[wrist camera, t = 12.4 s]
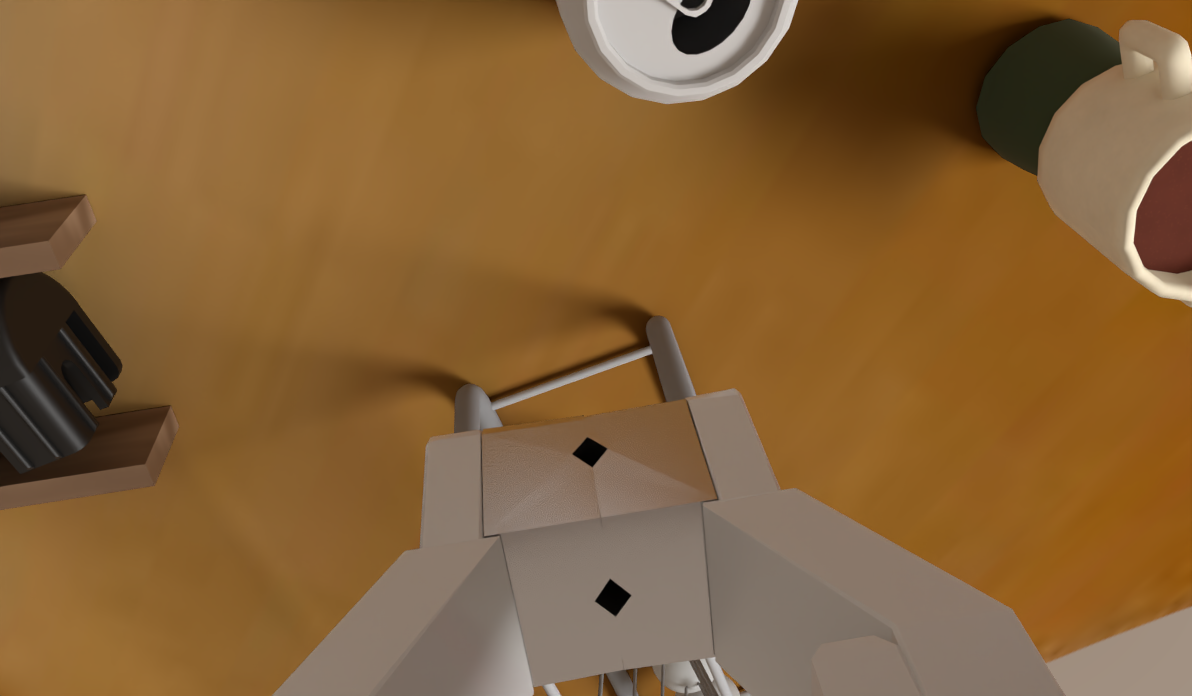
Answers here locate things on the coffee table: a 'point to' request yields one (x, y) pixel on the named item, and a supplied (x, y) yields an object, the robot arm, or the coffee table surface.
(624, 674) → the newton's cradle
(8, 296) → the end cap
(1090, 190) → the character mug
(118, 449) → the walnut organizer
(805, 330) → the coffee table surface
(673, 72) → the can
